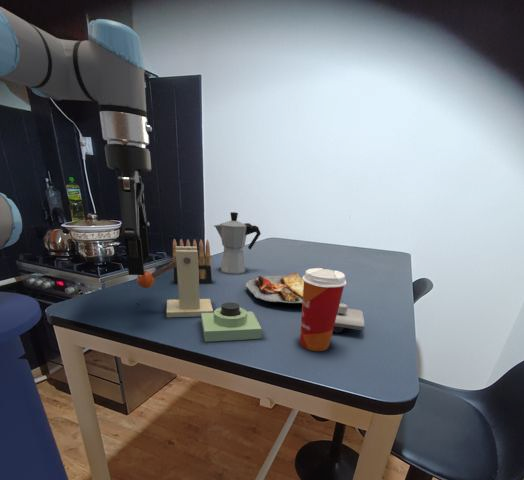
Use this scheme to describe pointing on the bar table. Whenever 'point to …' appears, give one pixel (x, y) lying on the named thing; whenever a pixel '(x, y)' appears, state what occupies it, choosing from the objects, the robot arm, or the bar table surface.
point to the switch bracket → (188, 286)
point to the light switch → (348, 319)
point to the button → (230, 309)
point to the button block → (230, 326)
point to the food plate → (278, 288)
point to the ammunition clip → (203, 265)
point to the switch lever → (154, 275)
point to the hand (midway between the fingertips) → (140, 265)
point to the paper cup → (320, 307)
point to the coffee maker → (235, 243)
